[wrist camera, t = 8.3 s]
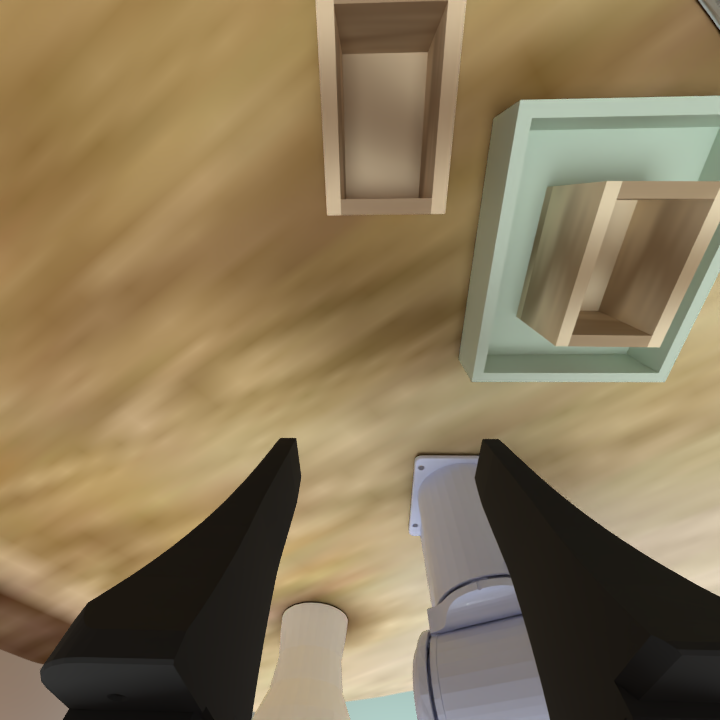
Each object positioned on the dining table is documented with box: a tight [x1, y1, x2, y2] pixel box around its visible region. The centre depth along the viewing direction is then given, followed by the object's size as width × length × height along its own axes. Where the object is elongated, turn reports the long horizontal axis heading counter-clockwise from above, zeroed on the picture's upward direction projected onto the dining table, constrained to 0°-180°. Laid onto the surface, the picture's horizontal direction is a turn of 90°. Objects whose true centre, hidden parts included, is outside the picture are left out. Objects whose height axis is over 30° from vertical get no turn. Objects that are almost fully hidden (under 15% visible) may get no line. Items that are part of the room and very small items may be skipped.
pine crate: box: [516, 181, 720, 347], centre depth 16 cm, size 7×5×4 cm
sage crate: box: [459, 96, 720, 382], centre depth 17 cm, size 13×11×3 cm
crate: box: [316, 0, 467, 215], centre depth 14 cm, size 7×5×4 cm
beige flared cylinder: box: [252, 603, 350, 720], centre depth 30 cm, size 11×11×15 cm
